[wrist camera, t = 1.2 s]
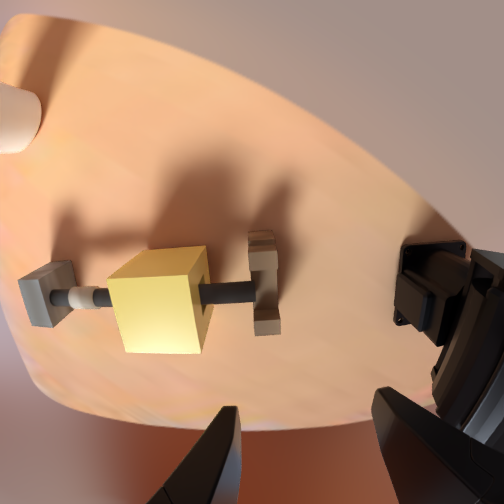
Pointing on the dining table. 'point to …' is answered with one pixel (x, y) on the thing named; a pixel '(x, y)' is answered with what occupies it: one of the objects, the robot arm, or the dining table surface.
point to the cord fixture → (257, 290)
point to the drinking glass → (18, 118)
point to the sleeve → (162, 301)
